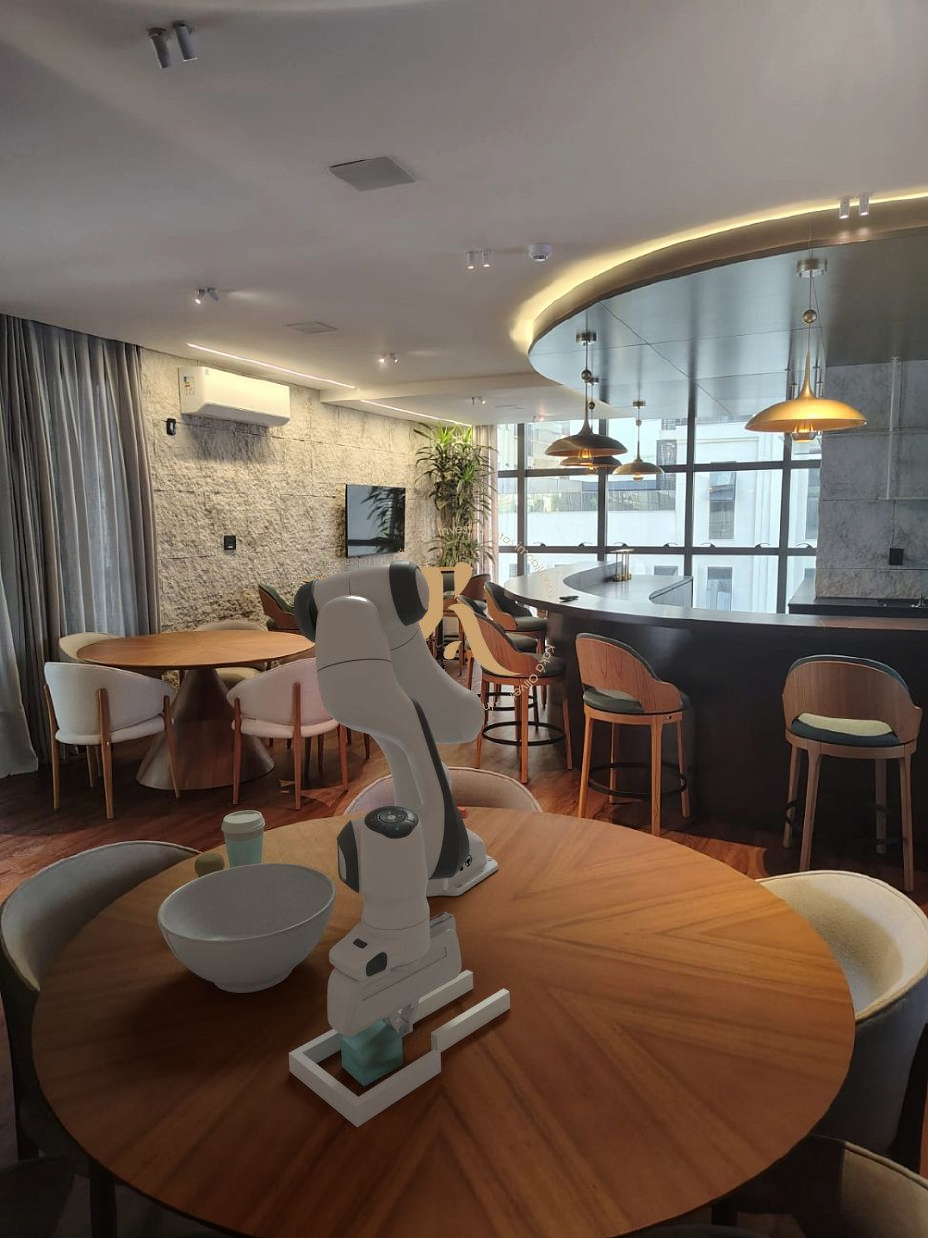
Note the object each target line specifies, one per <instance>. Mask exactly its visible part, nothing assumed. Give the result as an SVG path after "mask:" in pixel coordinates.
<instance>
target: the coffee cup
mask: <svg viewBox="0 0 928 1238" xmlns="http://www.w3.org/2000/svg"><path fill="white" fill-rule="evenodd" d="M265 825H266V822H265V818H264V816H263V814H262V813H261V812H260V811H257V810H252V809H251V810H239V811H238V810H237V811H234V812H232V813H229V814H227V815H225V816H224V817H223V821H222V823H221V828H220V829H221V831H222V833H223V838H224V843H225V847H226V853H227V858H228V863H229V868H233V867H238V866H244V865H251V864H262V863H263V862H262V861H263V846H264V845H263V844H264V831H265V829H264V827H265Z"/></svg>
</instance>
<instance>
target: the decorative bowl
mask: <svg viewBox="0 0 928 1238" xmlns="http://www.w3.org/2000/svg"><path fill="white" fill-rule="evenodd" d="M336 898H337V887H336V884H335V883H334V880H332V878H331V877H330V876H328V875H327V874H326V873H325V872H323V871H320V870H318V869H316V868H314V867H309V866H306V865H302V864H294V863H285V862H267V863H266V862H265V863H263V862H262V864H251V865H244V866H238V867H233V868H230V867H229V868H224V869H223V870H220V871H217V872H213V873H210V874H207V875H205V876H202V877H199V878H198V877H196V878H195V879H192V880H191V881H188V882H187V883H185V884H183V885H181V886H180V887H178V888H177V889H175V890H174V891H172V892H171V893H170V894H169V895H167V896H166V898H165V899H164V900H163V902H161V904H160V906H159V908H158V911H157V923H158V926H159V929H160V931H161V933H162V936H163V938H164V940H165V942H166V944H167V945H168V947H169V949H170V950H171V952H172V953H173V954H174V956H175V957H176V958H177V959H178V960H179V961H180V963H181V964H183V965H184V966H185V967H186V968H187V969H188V970H190V971H191V972H192V973H193V974H195V975H197V976H198V977H200V978H202V979H203V980H205V981H206V980H207V981H208V982H212V983H213V984H214V985H215V986H216V987H217V988H219V989H221V990H222V991H225V992H231V993H239V994H242V993H243V994H245V993H254V992H260V991H264V990H266V989H269V988H271V987H274V986H276V985H278V984H280V983H281V982H282V981H284V980H286V979H287V978H288V977H289V975H290V974H291V973H292V972H293V969H294V968H295V967H297V966H298V965H299V964H301V963H302V962H303V961H304V960H305V959H306V958H307V957H308V956H309V955H310V953H311V952H312V951H314V949H315V947H316V946H317V944H318V943H319V942H320V940H321V939H322V936H323V934H324V933H325V932H326V929H327V927H328V925H329V922H330V919H331V917H332V913H333V910H334V907H335V902H336Z"/></svg>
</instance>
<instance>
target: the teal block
mask: <svg viewBox="0 0 928 1238" xmlns="http://www.w3.org/2000/svg"><path fill="white" fill-rule="evenodd" d="M340 1051H341V1052H340V1053H341V1067H342V1068H343V1069H344V1070H345V1071H346V1072H347V1073H348V1074H350V1075H351V1076H352V1078H354V1079H355V1080H357V1082H358V1083H360V1085H361V1086H363V1087H366V1086H367V1085H369V1084H370V1083H373V1082H374V1081H377V1080H378V1079H380V1078H382V1077H383V1076H385V1075H387V1074H389V1073H390V1072H392V1071H395V1070H396V1069H398V1068H399V1067H401V1066H403V1065H404V1058H403V1057H404V1055H403V1052H404V1051H403V1037H402V1035H400V1034H399V1033H398V1032H397V1031H395V1030H394V1029H393V1028H391V1027H390V1026H389V1025H387V1024H386V1023H385V1021H384V1020H381V1021H379V1022H377V1023H375V1024H374V1025H372V1026H370V1027H368V1028H367V1029H365V1030H363V1031H361V1032H360V1033H358V1034H356V1035H354V1036H353V1037H351V1038H347V1037H345V1036H343V1037H341V1050H340Z"/></svg>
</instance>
